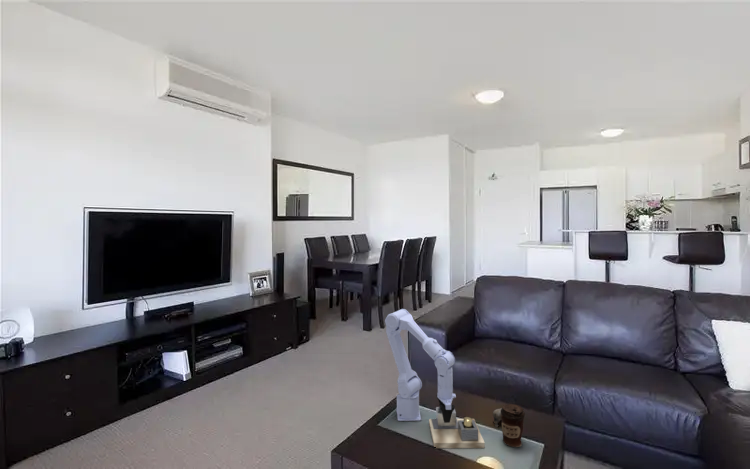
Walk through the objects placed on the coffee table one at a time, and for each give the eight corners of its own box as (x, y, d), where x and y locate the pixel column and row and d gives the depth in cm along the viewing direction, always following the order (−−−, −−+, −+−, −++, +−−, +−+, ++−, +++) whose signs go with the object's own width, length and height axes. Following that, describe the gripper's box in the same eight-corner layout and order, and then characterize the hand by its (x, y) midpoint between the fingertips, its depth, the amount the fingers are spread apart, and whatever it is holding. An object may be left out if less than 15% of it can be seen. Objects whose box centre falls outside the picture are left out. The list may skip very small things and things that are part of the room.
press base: (434, 448, 132) (434, 431, 131) (429, 423, 146) (428, 409, 146) (484, 447, 131) (484, 431, 131) (474, 423, 146) (474, 408, 146)
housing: (437, 427, 141) (437, 413, 140) (436, 420, 145) (436, 406, 145) (456, 427, 140) (456, 413, 140) (454, 420, 145) (453, 406, 144)
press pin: (464, 432, 133) (464, 421, 133) (462, 427, 136) (462, 417, 136) (472, 432, 133) (472, 421, 133) (471, 427, 136) (470, 417, 136)
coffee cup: (522, 453, 128) (522, 417, 127) (497, 445, 132) (497, 410, 131) (526, 439, 135) (526, 405, 134) (503, 432, 140) (503, 400, 139)
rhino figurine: (521, 418, 149) (521, 404, 149) (497, 428, 143) (497, 413, 142) (513, 413, 153) (513, 399, 152) (489, 423, 146) (489, 409, 146)
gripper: (459, 393, 134) (459, 428, 135) (451, 375, 149) (452, 407, 150) (440, 393, 134) (440, 428, 135) (434, 375, 149) (434, 407, 150)
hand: (445, 417), depth 143 cm, fingers open, 5 cm apart
